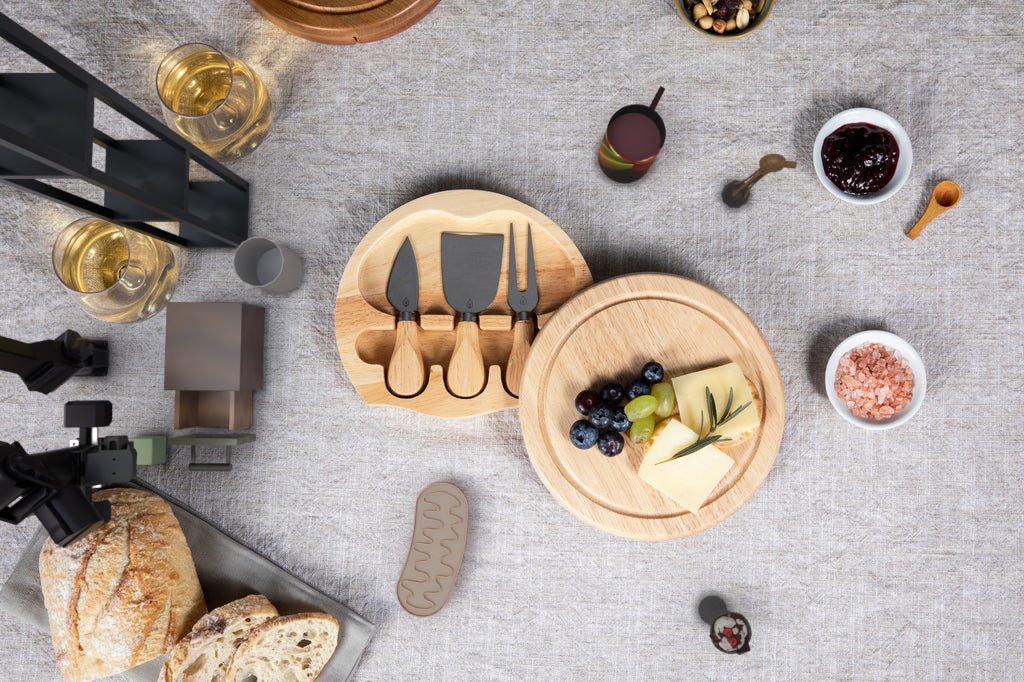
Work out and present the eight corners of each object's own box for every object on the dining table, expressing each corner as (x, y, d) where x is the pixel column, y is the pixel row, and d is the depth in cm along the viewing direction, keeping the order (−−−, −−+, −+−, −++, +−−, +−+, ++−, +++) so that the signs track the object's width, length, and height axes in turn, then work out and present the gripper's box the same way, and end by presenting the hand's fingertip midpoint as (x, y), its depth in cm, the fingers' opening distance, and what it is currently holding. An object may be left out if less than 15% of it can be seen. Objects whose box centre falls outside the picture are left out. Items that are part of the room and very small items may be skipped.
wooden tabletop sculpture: (755, 184, 119) (802, 146, 99) (752, 209, 119) (799, 176, 99) (722, 180, 119) (762, 142, 99) (719, 206, 119) (759, 172, 99)
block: (140, 461, 118) (125, 464, 114) (141, 435, 119) (126, 438, 114) (165, 461, 118) (151, 465, 114) (166, 436, 119) (152, 438, 114)
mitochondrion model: (425, 472, 117) (421, 477, 112) (480, 485, 117) (478, 490, 112) (395, 600, 117) (390, 610, 112) (450, 613, 116) (447, 624, 111)
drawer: (255, 467, 117) (236, 474, 109) (191, 466, 117) (167, 473, 110) (257, 364, 118) (239, 363, 110) (194, 363, 118) (171, 363, 110)
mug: (654, 109, 120) (668, 80, 108) (650, 184, 119) (664, 164, 107) (600, 106, 120) (609, 77, 108) (596, 182, 119) (605, 161, 107)
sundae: (691, 592, 116) (716, 625, 101) (729, 589, 116) (760, 621, 101) (694, 630, 115) (720, 669, 100) (733, 627, 115) (764, 665, 100)
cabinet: (262, 389, 119) (239, 390, 109) (192, 388, 119) (163, 390, 109) (264, 307, 119) (242, 302, 110) (195, 307, 120) (166, 301, 110)
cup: (297, 298, 119) (276, 291, 109) (253, 289, 119) (228, 281, 110) (307, 252, 120) (287, 241, 110) (263, 243, 120) (239, 232, 110)
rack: (181, 248, 120) (-234, 98, 54) (183, 182, 121) (-225, -45, 55) (247, 248, 120) (-89, 98, 54) (249, 183, 120) (-82, -46, 54)
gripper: (109, 538, 92) (169, 513, 107) (111, 402, 92) (170, 397, 108) (29, 538, 92) (100, 513, 107) (32, 403, 92) (102, 398, 108)
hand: (120, 455), depth 108 cm, fingers closed
